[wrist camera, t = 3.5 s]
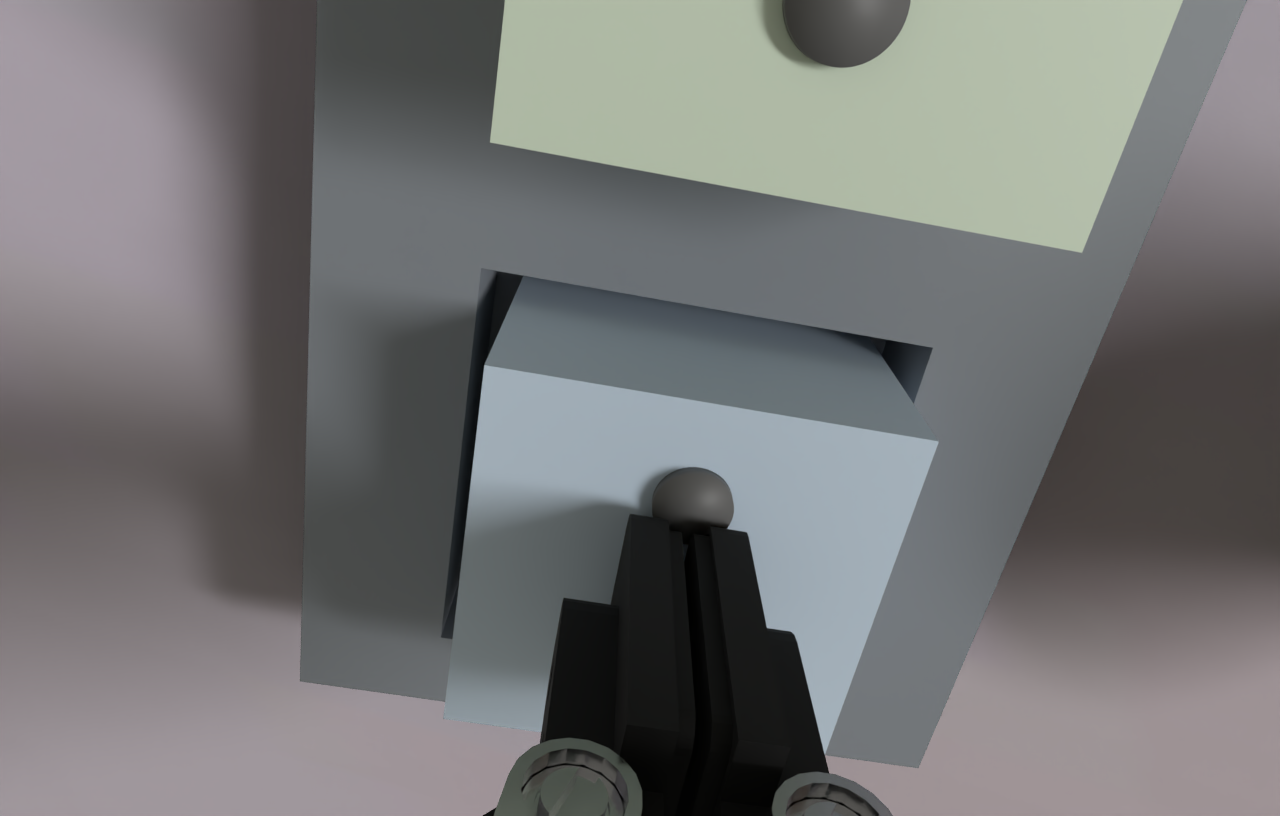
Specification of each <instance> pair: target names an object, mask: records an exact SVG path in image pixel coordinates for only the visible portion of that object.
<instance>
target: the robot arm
mask: <svg viewBox="0 0 1280 816" xmlns="http://www.w3.org/2000/svg"><path fill="white" fill-rule="evenodd" d="M483 816H893V815H892V814H891V812H890V811H889V809H888V808H887V807H886V806H885V805H884V804H883V803H882V802H881V801H880V800H879V799H878V798H877V797H876V796H875V795H874V794H873V793H871V792H870V791H868V790H867V789H865V788H863V787H862V786H860V785H859V784H857V783H856V782H854V781H851V780H849V779H846V778H843V777H841V776H838V775H836V774H829V771H828V767H827V762H826V758H825V754H824V750H823V746H822V742H821V738H820V734H819V730H818V725H817V721H816V717H815V713H814V709H813V705H812V701H811V697H810V693H809V689H808V684H807V680H806V676H805V672H804V668H803V664H802V660H801V656H800V652H799V647H798V643H797V640H796V638H795V635H794V634H793V633H792V632H790V631H784V630H777V629H770V628H767V626H766V621H765V616H764V611H763V606H762V601H761V596H760V591H759V586H758V581H757V576H756V571H755V566H754V561H753V556H752V551H751V546H750V541H749V536H748V534H747V532H743V531H737V530H731V529H724V528H718V527H712V526H708V527H707V529H706V531H705V535H697V534H692V535H691V538H690V541H689V545H688V549H687V553H686V557H685V561H684V553H683V540H682V533H681V532H678V531H672V530H669V521H668V520H667V519H661V518H654V517H648V516H642V515H635V514H630V515H629V518H628V522H627V527H626V532H625V536H624V541H623V546H622V551H621V556H620V561H619V566H618V570H617V575H616V580H615V585H614V590H613V595H612V600H611V604H603V603H596V602H590V601H583V600H576V599H570V598H563V602H562V607H561V612H560V618H559V623H558V629H557V635H556V640H555V646H554V652H553V658H552V664H551V670H550V676H549V683H548V689H547V696H546V703H545V710H544V717H543V724H542V732H541V739H540V744H538V745H536V746H533V747H532V748H530V749H529V750H528V751H527V752H525V753H524V754H523V755H522V756H521V757H519V758H518V760H517V761H516V763H515V765H514V766H513V768H512V770H511V771H510V773H509V775H508V778H507V781H506V783H505V786H504V789H503V791H502V794H501V797H500V799H499V802H498V805H497V807H496V808H495V809H493V810H491V811H490V812H488V813H486V814H485V815H483Z"/></svg>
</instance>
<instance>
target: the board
mask: <svg viewBox="0 0 1280 816" xmlns="http://www.w3.org/2000/svg"><path fill="white" fill-rule="evenodd" d="M1246 1H1247V0H1183V2H1182V4H1181V7H1180V9H1179V12H1178V14H1177V17H1176V19H1175V22H1174V24H1173V27H1172V29H1171V32H1170V34H1169V37H1168V39H1167V42H1166V44H1165V47H1164V49H1163V52H1162V54H1161V57H1160V59H1159V62H1158V64H1157V67H1156V69H1155V72H1154V74H1153V77H1152V79H1151V82H1150V84H1149V87H1148V89H1147V92H1146V94H1145V97H1144V99H1143V102H1142V104H1141V107H1140V109H1139V112H1138V114H1137V117H1136V119H1135V122H1134V124H1133V127H1132V129H1131V132H1130V134H1129V137H1128V139H1127V142H1126V144H1125V147H1124V149H1123V152H1122V154H1121V157H1120V159H1119V162H1118V164H1117V167H1116V169H1115V172H1114V174H1113V177H1112V179H1111V182H1110V184H1109V187H1108V189H1107V192H1106V194H1105V197H1104V199H1103V202H1102V204H1101V207H1100V209H1099V212H1098V214H1097V217H1096V219H1095V222H1094V224H1093V227H1092V229H1091V232H1090V234H1089V237H1088V239H1087V242H1086V244H1085V247H1084V249H1083V252H1082V253H1080V252H1075V251H1070V250H1064V249H1059V248H1053V247H1048V246H1043V245H1037V244H1032V243H1027V242H1021V241H1016V240H1011V239H1005V238H1000V237H994V236H989V235H984V234H978V233H973V232H968V231H962V230H957V229H952V228H946V227H941V226H935V225H930V224H925V223H919V222H914V221H909V220H903V219H898V218H893V217H887V216H882V215H876V214H871V213H866V212H860V211H855V210H850V209H844V208H839V207H834V206H828V205H823V204H817V203H812V202H807V201H801V200H796V199H791V198H785V197H780V196H775V195H769V194H764V193H758V192H753V191H748V190H742V189H737V188H732V187H726V186H721V185H716V184H710V183H705V182H699V181H694V180H689V179H683V178H678V177H673V176H667V175H662V174H657V173H651V172H646V171H640V170H635V169H630V168H624V167H619V166H614V165H608V164H603V163H598V162H592V161H587V160H581V159H576V158H571V157H565V156H560V155H555V154H549V153H544V152H539V151H533V150H528V149H522V148H517V147H512V146H506V145H501V144H496V143H490V137H491V127H492V118H493V109H494V99H495V90H496V81H497V71H498V62H499V52H500V43H501V34H502V24H503V15H504V5H505V0H317V22H316V62H315V101H314V141H313V181H312V221H311V261H310V301H309V341H308V380H307V420H306V460H305V500H304V540H303V580H302V619H301V659H300V681H302V682H309V683H316V684H323V685H330V686H337V687H344V688H351V689H359V690H366V691H373V692H380V693H387V694H394V695H401V696H408V697H416V698H423V699H430V700H437V701H444V702H445V700H446V691H447V683H448V674H449V666H450V657H451V648H452V640H453V631H454V622H455V614H456V605H457V597H458V588H459V579H460V571H461V562H462V553H463V545H464V536H465V528H466V519H467V510H468V502H469V493H470V484H471V476H472V467H473V458H474V450H475V441H476V433H477V424H478V415H479V407H480V398H481V389H482V381H483V372H484V365H485V362H486V360H487V358H488V356H489V353H490V351H491V349H492V346H493V344H494V342H495V340H496V337H497V335H498V333H499V331H500V328H501V326H502V324H503V321H504V319H505V317H506V315H507V312H508V310H509V308H510V305H511V303H512V301H513V299H514V296H515V294H516V292H517V290H518V287H519V285H520V283H521V280H522V278H523V276H528V277H534V278H540V279H545V280H551V281H557V282H563V283H568V284H574V285H580V286H585V287H591V288H597V289H602V290H608V291H614V292H619V293H625V294H631V295H636V296H642V297H648V298H653V299H659V300H665V301H670V302H676V303H682V304H687V305H693V306H699V307H704V308H710V309H716V310H722V311H727V312H733V313H739V314H744V315H750V316H756V317H761V318H767V319H773V320H778V321H784V322H790V323H795V324H801V325H807V326H812V327H818V328H824V329H829V330H835V331H841V332H846V333H852V334H858V335H863V336H869V338H870V339H871V341H872V342H873V344H874V345H875V347H876V348H877V350H878V351H879V353H880V354H881V356H882V357H883V359H884V360H885V362H886V363H887V365H888V366H889V368H890V369H891V371H892V372H893V374H894V375H895V377H896V378H897V380H898V381H899V383H900V384H901V386H902V387H903V389H904V390H905V392H906V393H907V395H908V396H909V398H910V399H911V401H912V402H913V404H914V405H915V407H916V408H917V410H918V411H919V413H920V414H921V416H922V417H923V419H924V420H925V421H926V423H927V424H928V426H929V427H930V429H931V430H932V432H933V433H934V435H935V436H936V438H937V439H938V441H939V443H938V445H937V448H936V451H935V454H934V456H933V459H932V462H931V465H930V467H929V470H928V473H927V476H926V478H925V481H924V484H923V487H922V489H921V492H920V495H919V498H918V500H917V503H916V506H915V509H914V511H913V514H912V517H911V520H910V522H909V525H908V528H907V531H906V533H905V536H904V539H903V542H902V544H901V547H900V550H899V552H898V555H897V558H896V561H895V563H894V566H893V569H892V572H891V574H890V577H889V580H888V583H887V585H886V588H885V591H884V594H883V596H882V599H881V602H880V605H879V607H878V610H877V613H876V616H875V618H874V621H873V624H872V627H871V629H870V632H869V635H868V638H867V640H866V643H865V646H864V649H863V651H862V654H861V657H860V660H859V662H858V665H857V668H856V671H855V673H854V676H853V679H852V682H851V684H850V687H849V690H848V693H847V695H846V698H845V701H844V704H843V706H842V709H841V712H840V715H839V717H838V720H837V723H836V725H835V728H834V731H833V734H832V736H831V739H830V742H829V745H828V747H827V750H826V753H825V755H828V756H835V757H842V758H850V759H857V760H864V761H871V762H878V763H885V764H892V765H899V766H907V767H914V768H919V765H920V763H921V761H922V758H923V756H924V754H925V751H926V749H927V747H928V744H929V742H930V740H931V737H932V735H933V733H934V730H935V728H936V726H937V723H938V721H939V719H940V716H941V714H942V712H943V709H944V707H945V704H946V702H947V700H948V697H949V695H950V693H951V690H952V688H953V686H954V683H955V681H956V679H957V676H958V674H959V672H960V669H961V667H962V665H963V662H964V660H965V658H966V655H967V653H968V651H969V648H970V646H971V644H972V641H973V639H974V637H975V634H976V632H977V630H978V627H979V625H980V623H981V620H982V618H983V616H984V613H985V611H986V609H987V606H988V604H989V602H990V599H991V597H992V595H993V592H994V590H995V588H996V585H997V583H998V581H999V578H1000V576H1001V574H1002V571H1003V569H1004V567H1005V564H1006V562H1007V560H1008V557H1009V555H1010V553H1011V550H1012V548H1013V546H1014V543H1015V541H1016V539H1017V536H1018V534H1019V532H1020V529H1021V527H1022V525H1023V522H1024V520H1025V518H1026V515H1027V513H1028V511H1029V508H1030V506H1031V504H1032V501H1033V499H1034V497H1035V494H1036V492H1037V490H1038V487H1039V485H1040V483H1041V480H1042V478H1043V476H1044V473H1045V471H1046V469H1047V466H1048V464H1049V461H1050V459H1051V457H1052V454H1053V452H1054V450H1055V447H1056V445H1057V443H1058V440H1059V438H1060V436H1061V433H1062V431H1063V429H1064V426H1065V424H1066V422H1067V419H1068V417H1069V415H1070V412H1071V410H1072V408H1073V405H1074V403H1075V401H1076V398H1077V396H1078V394H1079V391H1080V389H1081V387H1082V384H1083V382H1084V380H1085V377H1086V375H1087V373H1088V370H1089V368H1090V366H1091V363H1092V361H1093V359H1094V356H1095V354H1096V352H1097V349H1098V347H1099V345H1100V342H1101V340H1102V338H1103V335H1104V333H1105V331H1106V328H1107V326H1108V324H1109V321H1110V319H1111V317H1112V314H1113V312H1114V310H1115V307H1116V305H1117V303H1118V300H1119V298H1120V296H1121V293H1122V291H1123V289H1124V286H1125V284H1126V282H1127V279H1128V277H1129V275H1130V272H1131V270H1132V268H1133V265H1134V263H1135V261H1136V258H1137V256H1138V254H1139V251H1140V249H1141V247H1142V244H1143V242H1144V240H1145V237H1146V235H1147V233H1148V230H1149V228H1150V226H1151V223H1152V221H1153V218H1154V216H1155V214H1156V211H1157V209H1158V207H1159V204H1160V202H1161V200H1162V197H1163V195H1164V193H1165V190H1166V188H1167V186H1168V183H1169V181H1170V179H1171V176H1172V174H1173V172H1174V169H1175V167H1176V165H1177V162H1178V160H1179V158H1180V155H1181V153H1182V151H1183V148H1184V146H1185V144H1186V141H1187V139H1188V137H1189V134H1190V132H1191V130H1192V127H1193V125H1194V123H1195V120H1196V118H1197V116H1198V113H1199V111H1200V109H1201V106H1202V104H1203V102H1204V99H1205V97H1206V95H1207V92H1208V90H1209V88H1210V85H1211V83H1212V81H1213V78H1214V76H1215V74H1216V71H1217V69H1218V67H1219V64H1220V62H1221V60H1222V57H1223V55H1224V53H1225V50H1226V48H1227V46H1228V43H1229V41H1230V39H1231V36H1232V34H1233V32H1234V29H1235V27H1236V25H1237V22H1238V20H1239V18H1240V15H1241V13H1242V11H1243V8H1244V6H1245V4H1246Z"/></svg>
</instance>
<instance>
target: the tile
mask: <svg viewBox="0 0 1280 816" xmlns="http://www.w3.org/2000/svg"><path fill="white" fill-rule="evenodd" d="M938 443H939V441H938V439H937V438H936V436H935V435H934V433H933V432H932V430H931V429H930V427H929V426H928V424H927V423H926V421H925V420H924V419H923V417H922V416H921V414H920V413H919V411H918V410H917V408H916V407H915V405H914V404H913V402H912V401H911V399H910V398H909V396H908V395H907V393H906V392H905V390H904V389H903V387H902V386H901V384H900V383H899V381H898V380H897V378H896V377H895V375H894V374H893V372H892V371H891V369H890V368H889V366H888V365H887V363H886V362H885V360H884V359H883V357H882V356H881V354H880V353H879V351H878V350H877V348H876V347H875V345H874V344H873V342H872V341H871V339H870V338H869V336H863V335H858V334H852V333H846V332H841V331H835V330H829V329H824V328H818V327H812V326H807V325H801V324H795V323H790V322H784V321H778V320H773V319H767V318H761V317H756V316H750V315H744V314H739V313H733V312H727V311H722V310H716V309H710V308H704V307H699V306H693V305H687V304H682V303H676V302H670V301H665V300H659V299H653V298H648V297H642V296H636V295H631V294H625V293H619V292H614V291H608V290H602V289H597V288H591V287H585V286H580V285H574V284H568V283H563V282H557V281H551V280H545V279H540V278H534V277H528V276H523V278H522V280H521V283H520V285H519V287H518V290H517V292H516V294H515V296H514V299H513V301H512V303H511V305H510V308H509V310H508V312H507V315H506V317H505V319H504V321H503V324H502V326H501V328H500V331H499V333H498V335H497V337H496V340H495V342H494V344H493V346H492V349H491V351H490V353H489V356H488V358H487V360H486V362H485V365H484V372H483V381H482V389H481V398H480V407H479V415H478V424H477V433H476V441H475V450H474V458H473V467H472V476H471V484H470V493H469V502H468V510H467V519H466V528H465V536H464V545H463V553H462V562H461V571H460V579H459V588H458V597H457V605H456V614H455V622H454V631H453V640H452V648H451V657H450V666H449V674H448V683H447V691H446V700H445V709H444V717H443V719H449V720H456V721H463V722H470V723H477V724H485V725H492V726H499V727H506V728H513V729H521V730H528V731H535V732H542V724H543V717H544V710H545V703H546V696H547V689H548V683H549V676H550V670H551V664H552V658H553V652H554V646H555V640H556V635H557V629H558V623H559V618H560V612H561V607H562V602H563V598H570V599H576V600H583V601H590V602H596V603H603V604H611V600H612V595H613V590H614V585H615V580H616V575H617V570H618V566H619V561H620V556H621V551H622V546H623V541H624V536H625V532H626V527H627V522H628V518H629V515H630V514H635V515H642V516H648V517H654V518H661V519H667V520H668V521H669V530H672V531H678V532H681V533H682V540H683V553H684V561H685V557H686V553H687V549H688V545H689V541H690V538H691V535H692V534H697V535H705V531H706V529H707V527H708V526H712V527H718V528H724V529H731V530H737V531H743V532H747V534H748V536H749V541H750V546H751V551H752V556H753V561H754V566H755V571H756V576H757V581H758V586H759V591H760V596H761V601H762V606H763V611H764V616H765V621H766V626H767V628H770V629H777V630H784V631H790V632H792V633H793V634H794V635H795V638H796V640H797V643H798V647H799V652H800V656H801V660H802V664H803V668H804V672H805V676H806V680H807V684H808V689H809V693H810V697H811V701H812V705H813V709H814V713H815V717H816V721H817V725H818V730H819V734H820V738H821V742H822V746H823V750H824V754H825V753H826V750H827V747H828V745H829V742H830V739H831V736H832V734H833V731H834V728H835V725H836V723H837V720H838V717H839V715H840V712H841V709H842V706H843V704H844V701H845V698H846V695H847V693H848V690H849V687H850V684H851V682H852V679H853V676H854V673H855V671H856V668H857V665H858V662H859V660H860V657H861V654H862V651H863V649H864V646H865V643H866V640H867V638H868V635H869V632H870V629H871V627H872V624H873V621H874V618H875V616H876V613H877V610H878V607H879V605H880V602H881V599H882V596H883V594H884V591H885V588H886V585H887V583H888V580H889V577H890V574H891V572H892V569H893V566H894V563H895V561H896V558H897V555H898V552H899V550H900V547H901V544H902V542H903V539H904V536H905V533H906V531H907V528H908V525H909V522H910V520H911V517H912V514H913V511H914V509H915V506H916V503H917V500H918V498H919V495H920V492H921V489H922V487H923V484H924V481H925V478H926V476H927V473H928V470H929V467H930V465H931V462H932V459H933V456H934V454H935V451H936V448H937V445H938Z"/></svg>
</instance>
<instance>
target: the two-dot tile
mask: <svg viewBox="0 0 1280 816" xmlns="http://www.w3.org/2000/svg"><path fill="white" fill-rule="evenodd" d="M1182 2H1183V0H505V5H504V15H503V24H502V34H501V43H500V52H499V62H498V71H497V81H496V90H495V99H494V109H493V118H492V127H491V137H490V143H496V144H501V145H506V146H512V147H517V148H522V149H528V150H533V151H539V152H544V153H549V154H555V155H560V156H565V157H571V158H576V159H581V160H587V161H592V162H598V163H603V164H608V165H614V166H619V167H624V168H630V169H635V170H640V171H646V172H651V173H657V174H662V175H667V176H673V177H678V178H683V179H689V180H694V181H699V182H705V183H710V184H716V185H721V186H726V187H732V188H737V189H742V190H748V191H753V192H758V193H764V194H769V195H775V196H780V197H785V198H791V199H796V200H801V201H807V202H812V203H817V204H823V205H828V206H834V207H839V208H844V209H850V210H855V211H860V212H866V213H871V214H876V215H882V216H887V217H893V218H898V219H903V220H909V221H914V222H919V223H925V224H930V225H935V226H941V227H946V228H952V229H957V230H962V231H968V232H973V233H978V234H984V235H989V236H994V237H1000V238H1005V239H1011V240H1016V241H1021V242H1027V243H1032V244H1037V245H1043V246H1048V247H1053V248H1059V249H1064V250H1070V251H1075V252H1080V253H1082V252H1083V249H1084V247H1085V244H1086V242H1087V239H1088V237H1089V234H1090V232H1091V229H1092V227H1093V224H1094V222H1095V219H1096V217H1097V214H1098V212H1099V209H1100V207H1101V204H1102V202H1103V199H1104V197H1105V194H1106V192H1107V189H1108V187H1109V184H1110V182H1111V179H1112V177H1113V174H1114V172H1115V169H1116V167H1117V164H1118V162H1119V159H1120V157H1121V154H1122V152H1123V149H1124V147H1125V144H1126V142H1127V139H1128V137H1129V134H1130V132H1131V129H1132V127H1133V124H1134V122H1135V119H1136V117H1137V114H1138V112H1139V109H1140V107H1141V104H1142V102H1143V99H1144V97H1145V94H1146V92H1147V89H1148V87H1149V84H1150V82H1151V79H1152V77H1153V74H1154V72H1155V69H1156V67H1157V64H1158V62H1159V59H1160V57H1161V54H1162V52H1163V49H1164V47H1165V44H1166V42H1167V39H1168V37H1169V34H1170V32H1171V29H1172V27H1173V24H1174V22H1175V19H1176V17H1177V14H1178V12H1179V9H1180V7H1181V4H1182Z"/></svg>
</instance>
